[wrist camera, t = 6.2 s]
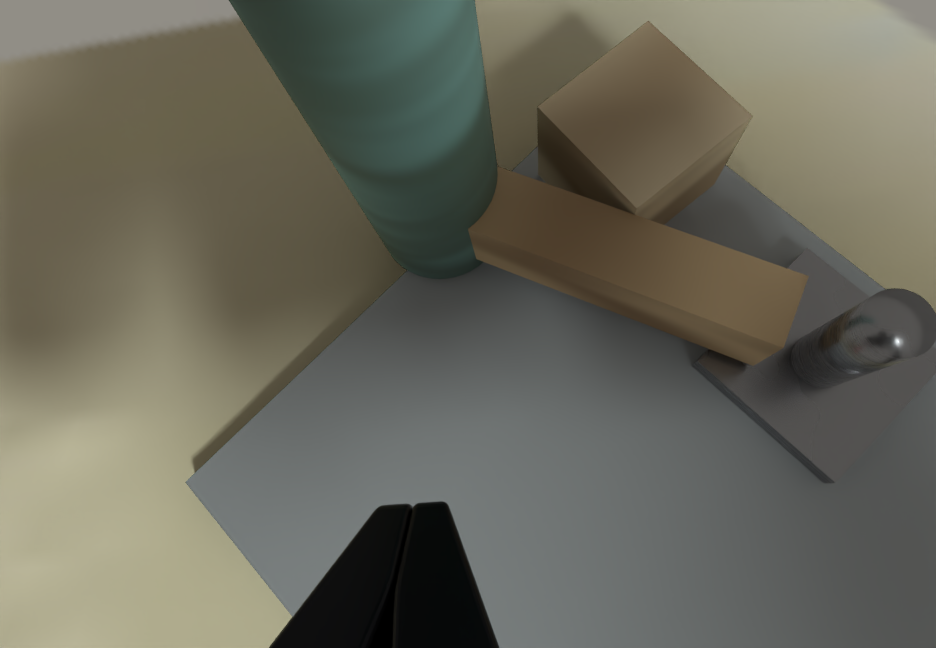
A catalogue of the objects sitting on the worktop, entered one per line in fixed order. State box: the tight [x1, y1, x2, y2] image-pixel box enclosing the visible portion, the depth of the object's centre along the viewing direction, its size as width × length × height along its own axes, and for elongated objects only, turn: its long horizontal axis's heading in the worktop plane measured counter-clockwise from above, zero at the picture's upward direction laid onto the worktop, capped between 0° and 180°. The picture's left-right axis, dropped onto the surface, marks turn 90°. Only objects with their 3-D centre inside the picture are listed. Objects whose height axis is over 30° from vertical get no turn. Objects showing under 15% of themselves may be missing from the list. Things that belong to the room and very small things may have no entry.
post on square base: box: [692, 248, 936, 483], centre depth 13 cm, size 4×4×4 cm
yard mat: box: [186, 146, 936, 648], centre depth 15 cm, size 14×14×1 cm
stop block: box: [537, 21, 752, 225], centre depth 15 cm, size 3×3×3 cm
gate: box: [229, 0, 809, 366], centre depth 10 cm, size 9×3×11 cm, turn 66°
